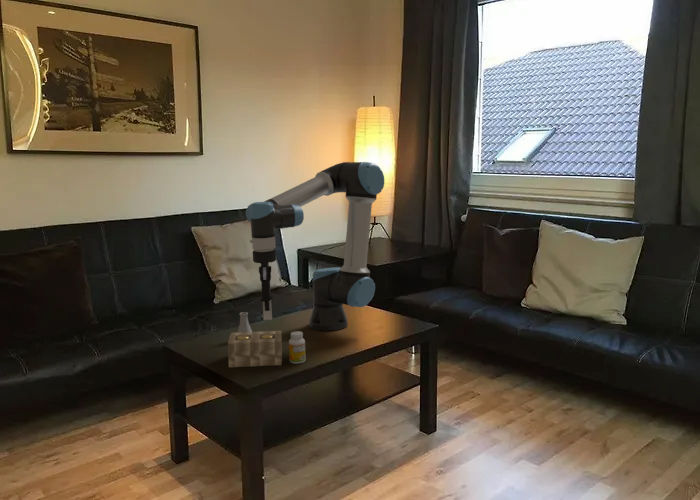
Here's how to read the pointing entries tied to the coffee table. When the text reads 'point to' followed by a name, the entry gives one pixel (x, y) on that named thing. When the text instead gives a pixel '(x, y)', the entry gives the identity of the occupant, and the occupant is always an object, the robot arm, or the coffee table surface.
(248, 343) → the birch block
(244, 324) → the flask
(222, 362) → the coffee table surface
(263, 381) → the coffee table surface
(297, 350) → the supplement bottle
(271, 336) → the peg
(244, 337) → the peg
